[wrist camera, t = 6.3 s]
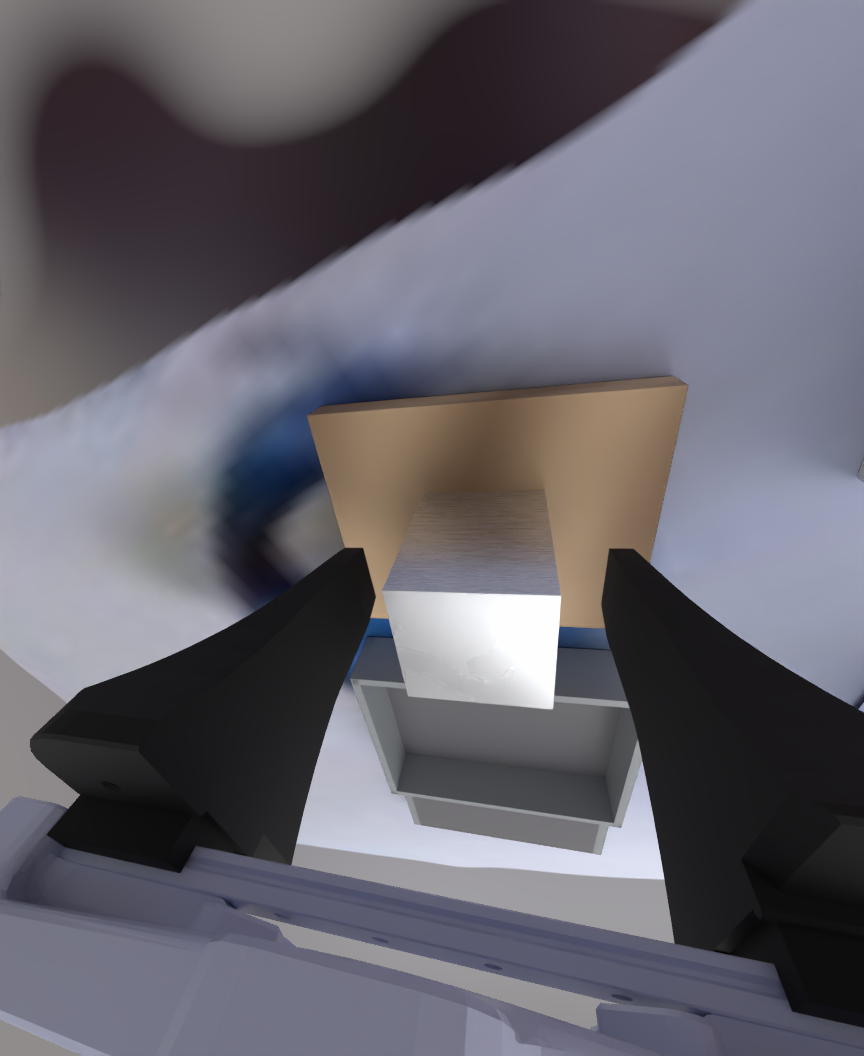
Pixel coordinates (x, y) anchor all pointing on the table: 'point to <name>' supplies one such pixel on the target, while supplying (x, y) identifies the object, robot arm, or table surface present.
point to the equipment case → (507, 752)
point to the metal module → (477, 599)
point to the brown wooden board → (509, 469)
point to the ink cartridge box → (861, 472)
